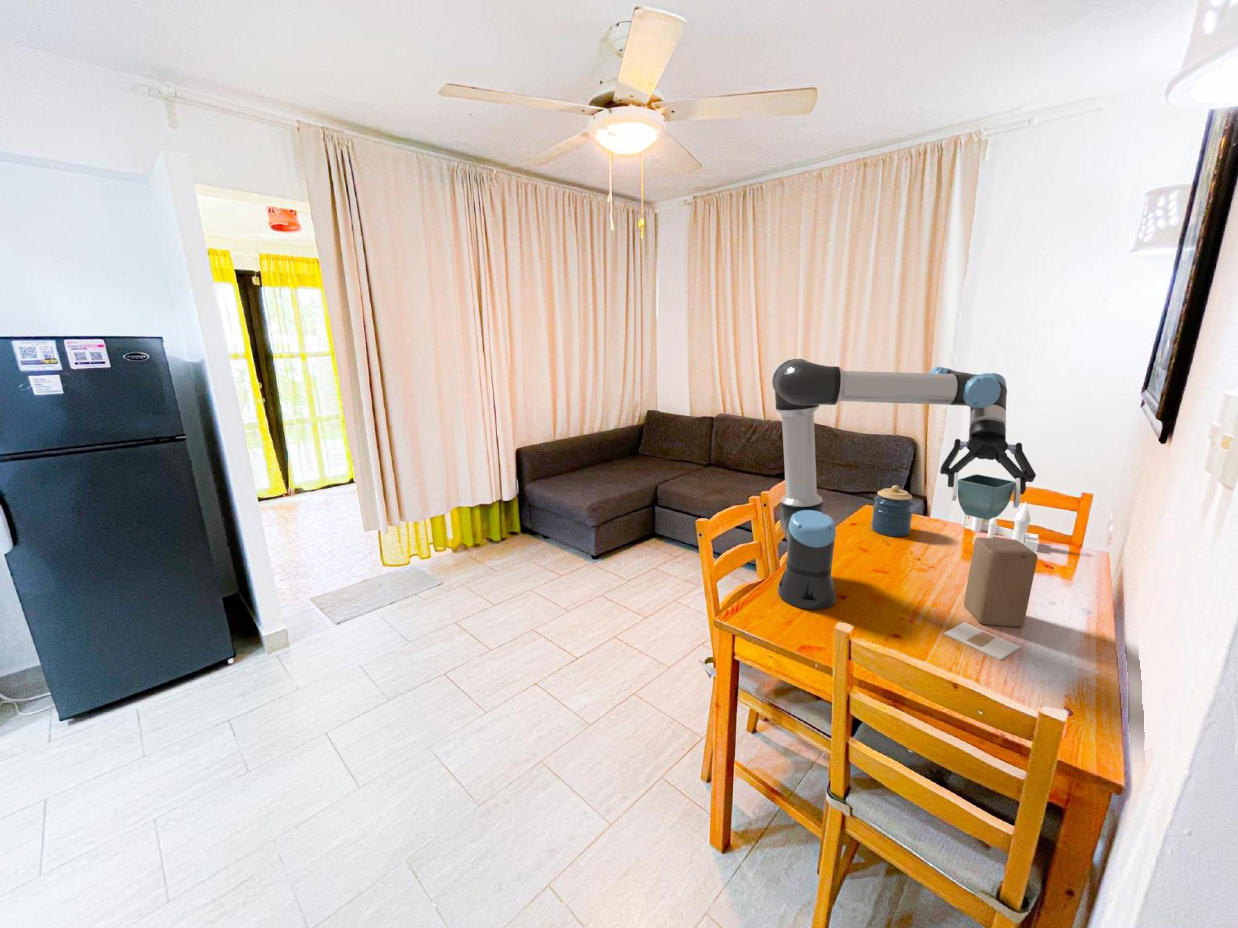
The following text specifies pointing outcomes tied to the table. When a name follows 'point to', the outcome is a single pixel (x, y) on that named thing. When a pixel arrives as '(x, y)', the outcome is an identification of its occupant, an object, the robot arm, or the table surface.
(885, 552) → the table surface
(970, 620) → the table surface
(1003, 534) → the toy castle
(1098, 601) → the table surface
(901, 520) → the canister
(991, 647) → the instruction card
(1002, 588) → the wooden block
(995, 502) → the flower pot
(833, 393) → the robot arm
